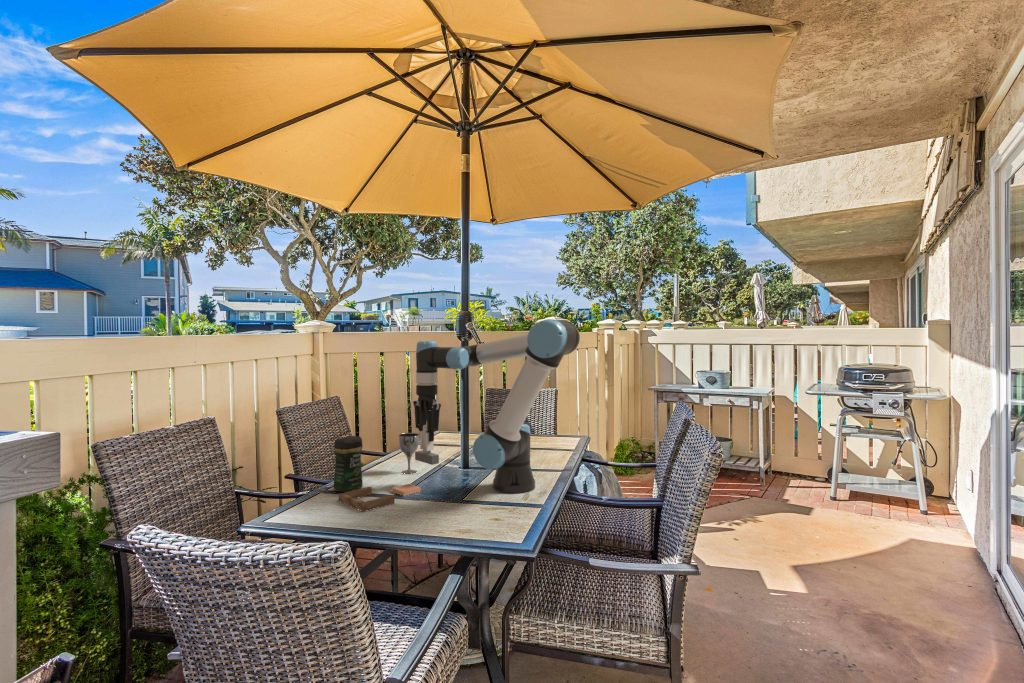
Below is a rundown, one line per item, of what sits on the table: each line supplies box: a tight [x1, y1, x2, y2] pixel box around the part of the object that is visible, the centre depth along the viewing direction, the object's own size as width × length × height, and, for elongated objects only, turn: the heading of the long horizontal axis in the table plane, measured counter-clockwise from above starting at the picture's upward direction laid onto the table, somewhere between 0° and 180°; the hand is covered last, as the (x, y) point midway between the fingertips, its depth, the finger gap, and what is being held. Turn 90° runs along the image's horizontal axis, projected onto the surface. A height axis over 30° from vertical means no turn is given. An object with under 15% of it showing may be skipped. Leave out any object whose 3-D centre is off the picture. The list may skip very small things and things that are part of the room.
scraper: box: [414, 424, 440, 466], centre depth 196 cm, size 10×3×13 cm, turn 46°
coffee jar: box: [333, 435, 364, 493], centre depth 194 cm, size 10×8×19 cm
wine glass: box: [398, 432, 420, 475], centre depth 216 cm, size 8×8×15 cm
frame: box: [338, 486, 395, 512], centre depth 179 cm, size 15×12×2 cm
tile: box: [392, 483, 422, 497], centre depth 190 cm, size 7×7×2 cm
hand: (426, 449), depth 196 cm, fingers closed on scraper, 3 cm apart
